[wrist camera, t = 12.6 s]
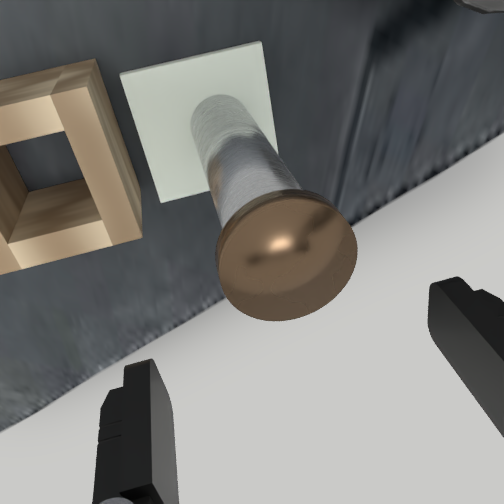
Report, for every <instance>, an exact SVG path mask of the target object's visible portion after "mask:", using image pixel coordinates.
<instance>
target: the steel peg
mask: <svg viewBox="0 0 504 504" xmlns="http://www.w3.org/2000/svg"><path fill="white" fill-rule="evenodd" d="M190 126H191V133H192V136H193V139H194V142H195V145H196V148H197V152H198V155H199V158H200V161H201V164H202V167H203V170H204V174H205V177H206V180H207V183H208V186H209V189H210V192H211V196H212V199H213V202H214V205H215V208H216V211H217V214H218V217H219V221H220V224H221V227H222V231H221V234H220V236H219V238H218V242H217V245H216V252H215V261H216V267H217V271H218V275H219V279H220V282H221V286H222V289H223V292H224V294H225V295H226V297H227V299H228V300H229V301H230V303H231V304H232V305H233V306H234V307H236V308H237V309H238V310H239V311H241V312H242V313H244V314H246V315H248V316H250V317H253V318H256V319H260V320H265V321H285V320H291V319H296V318H300V317H303V316H305V315H308V314H310V313H312V312H315V311H317V310H318V309H320V308H322V307H323V306H325V305H326V304H328V303H329V302H330V301H331V300H333V299H334V298H335V297H336V296H337V295H338V294H339V293H340V292H341V290H342V289H343V288H344V287H345V285H346V284H347V282H348V281H349V279H350V277H351V275H352V273H353V271H354V268H355V265H356V260H357V241H356V238H355V235H354V232H353V230H352V228H351V226H350V225H349V224H348V222H347V221H346V220H345V218H344V217H343V216H342V214H341V213H340V212H339V211H338V209H337V208H336V207H335V206H334V205H333V204H332V203H331V202H330V201H329V200H327V199H326V198H324V197H323V196H321V195H319V194H316V193H313V192H310V191H306V190H302V188H301V187H300V185H299V184H298V182H297V181H296V179H295V178H294V177H293V175H292V174H291V172H290V171H289V169H288V168H287V166H286V165H285V164H284V162H283V161H282V159H281V158H280V156H279V155H278V154H277V152H276V151H275V149H274V148H273V146H272V145H271V143H270V142H269V141H268V139H267V138H266V136H265V135H264V133H263V132H262V130H261V129H260V128H259V126H258V125H257V123H256V122H255V120H254V119H253V117H252V116H251V115H250V113H249V112H248V110H247V109H246V107H245V106H244V105H243V104H242V103H241V102H240V101H239V100H238V99H236V98H234V97H232V96H229V95H224V94H218V95H213V96H210V97H208V98H206V99H204V100H203V101H202V102H201V103H199V105H198V106H197V107H196V108H195V110H194V112H193V114H192V117H191V124H190Z"/></svg>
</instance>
